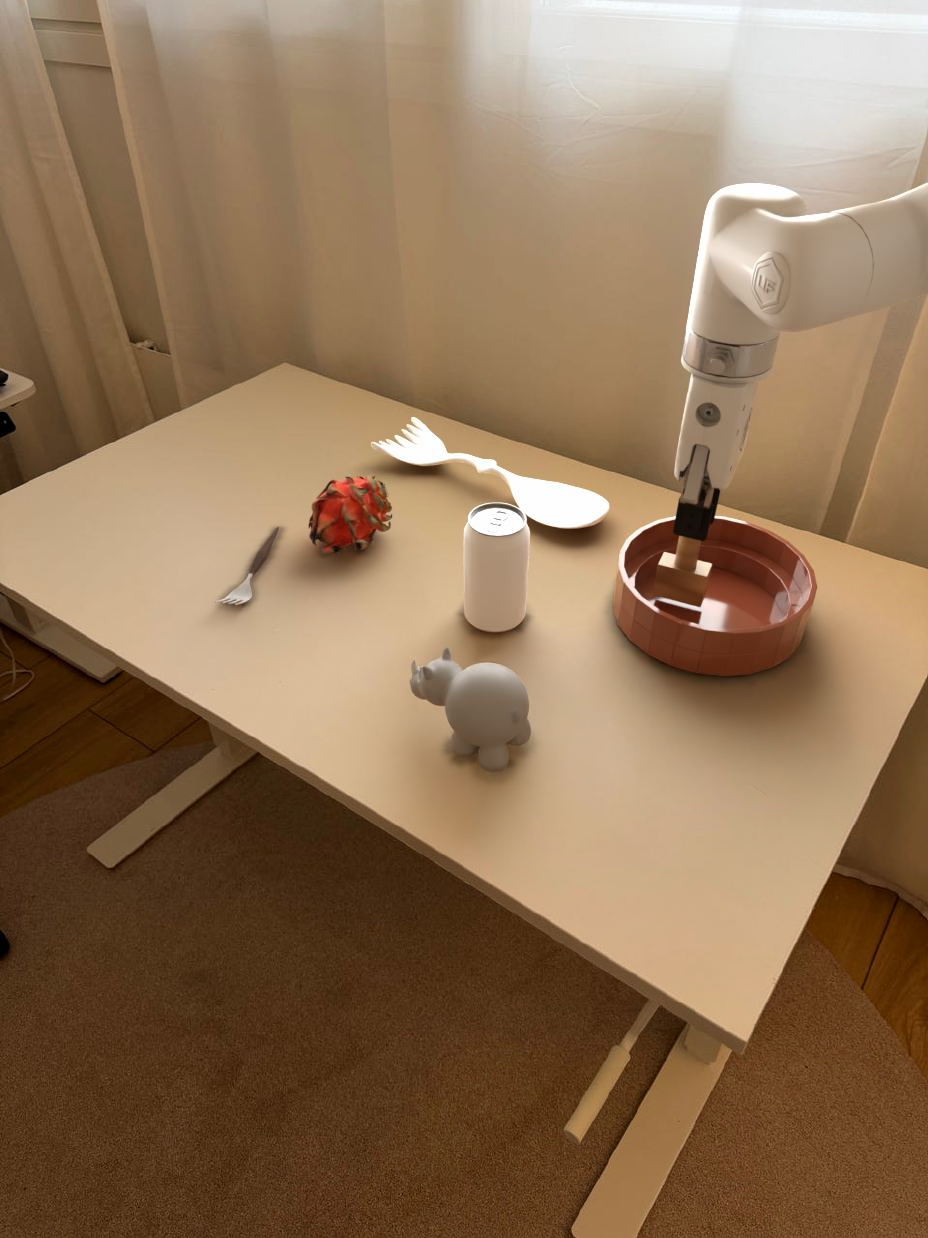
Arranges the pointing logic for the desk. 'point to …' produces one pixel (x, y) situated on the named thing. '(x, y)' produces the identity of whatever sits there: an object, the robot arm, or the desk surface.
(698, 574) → the wooden stamp
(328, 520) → the dragon fruit
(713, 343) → the robot arm
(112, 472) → the desk surface
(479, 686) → the chubby cartoon animal
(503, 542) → the can
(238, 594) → the fork
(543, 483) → the spoon
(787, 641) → the bowl
